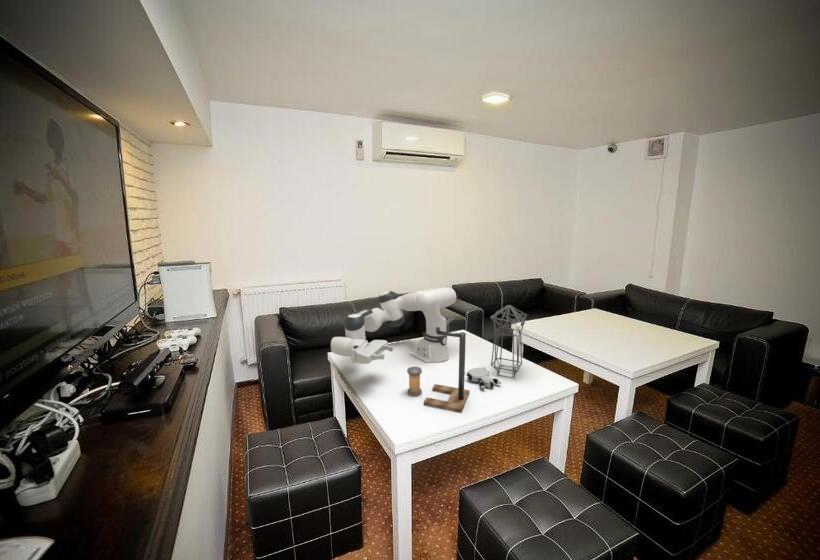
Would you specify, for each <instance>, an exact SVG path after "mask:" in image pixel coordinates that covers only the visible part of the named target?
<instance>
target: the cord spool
mask: <svg viewBox="0 0 820 560" xmlns="http://www.w3.org/2000/svg"><path fill="white" fill-rule="evenodd" d="M406 372H407V375H408V378H409V379H408V387H409V388H408V389H407V391H406V392H407V395H408V396H410V397H414V396H415V397H419V395H420V396H421V395H422V393H423V391H422V388H421V374H422V372H423V370H422V368H421V367H419V366H410V367H408V368H407V371H406Z"/></svg>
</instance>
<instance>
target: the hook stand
mask: <svg viewBox="0 0 820 560" xmlns="http://www.w3.org/2000/svg"><path fill="white" fill-rule="evenodd" d="M436 334H438V335H445V336H447V337H454V338H459V345H458V346H459V347H458V349H459V351H458V353H459V355H458V357H459V358H458V383H457V385H458V387H457V388H458V399H459V400H463V399H464V389H465V376H466V374H465V373H466V367H465V366H466V336H467V334H466V332H459V333H458V332H451V331H446V332H444V331H440V327H436Z"/></svg>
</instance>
